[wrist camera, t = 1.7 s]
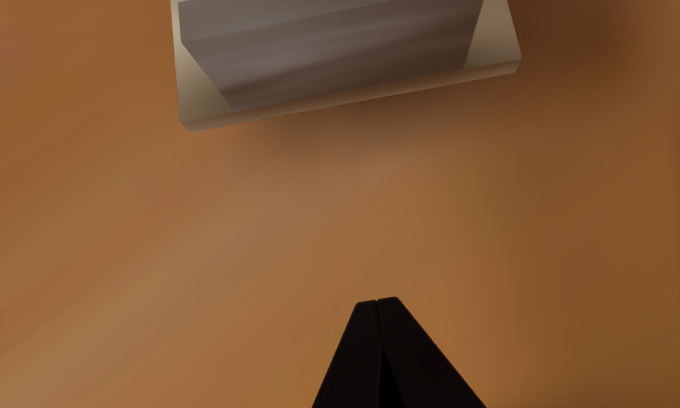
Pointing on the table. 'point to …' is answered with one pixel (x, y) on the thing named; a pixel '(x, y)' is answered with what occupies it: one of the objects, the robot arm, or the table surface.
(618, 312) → the table surface
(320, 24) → the lid
